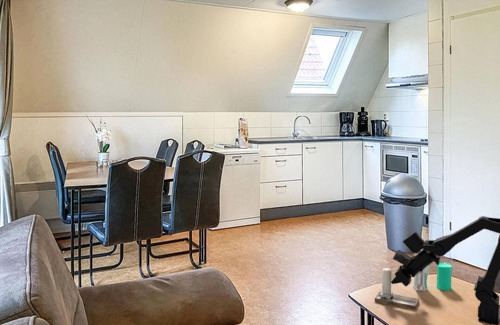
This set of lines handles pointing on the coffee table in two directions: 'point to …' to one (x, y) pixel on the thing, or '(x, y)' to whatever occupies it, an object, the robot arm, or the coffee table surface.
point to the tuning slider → (386, 284)
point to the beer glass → (421, 279)
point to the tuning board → (399, 301)
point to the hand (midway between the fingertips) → (391, 282)
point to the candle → (444, 276)
